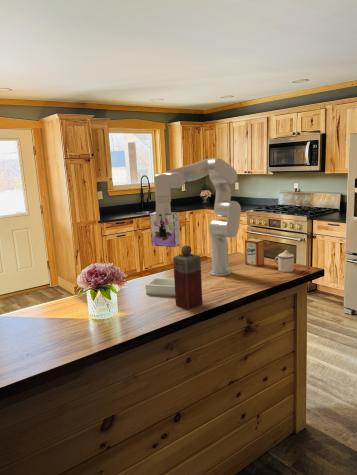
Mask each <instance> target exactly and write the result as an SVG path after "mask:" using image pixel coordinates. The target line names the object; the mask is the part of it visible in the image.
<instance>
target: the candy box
mask: <svg viewBox="0 0 357 475" xmlns="http://www.w3.org/2000/svg"><path fill="white" fill-rule="evenodd" d="M179 214H180V212H176V211H175V212H173V211H171V212H169V213H167V214H166V223H165V229H166V237H160V235H159V226H158V223H156V211H154V212H150V213H149V224H150V239H151V240H150V241H151V246H154V247H155V246H157V247H168V248H169V247H170V248H176V247H178V246H181V234H180V232H181V231H180V230H181V229H180V215H179ZM161 222H164V221H161ZM162 225H163V224H162Z"/></svg>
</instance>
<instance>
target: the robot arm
mask: <svg viewBox="0 0 357 475" xmlns="http://www.w3.org/2000/svg"><path fill="white" fill-rule="evenodd" d="M206 176H209V180H210V181H211V183H212V185H213V187H214V188H215V198H214V205H213V206H214V207H213V209H214V210H213V213H214V216H216V217H219V219H218V218H215V219H213V220H211V221H210V223H209V224H208V230H209V235H210V236H209V237H210V243H211V249H210V250H211V270H209V275H212V276H215V277H224V276H229V275H231V274H232V270H231V269H230V268H229V267H230V266H229V243H228V240H227V238H232V239H233V238H235V237H236V236H237V235H238V232H239V228H240V222H241V214H242V208H241V204H240V203H239V202H238V201H235V200H231V198H232V190H231V188H230V186H229V185H233V184H235V183H236V182H237V180H238V172H237V170H236V169H235V168H234V167H233V166H231V165H230V164H229V163H228V162H227V161H225V160H224V159H223V158H218V157H215V158H214V157H213V158H211V157H210V158H205V159H202V160H199V161H197V162H194V163H191V164H188V165H184V166H181V167H176V168H173V169H171V170H167V171H165V172H163V173H158V174H155V175H154V177H153V179H154V180H153V181H154V198H155V212H156V223H158V226H159V235H160V237H166V229H165V223H166V214H167V213H169V212H172V209H171V207H172V206H171V202H172V197H171V189H179V188H182V187H183V186H184V185H185V183H186V182H194V181H197V180H199V179H202V178H203V177H206ZM220 218H225V219H220ZM161 221H164V222H161ZM162 224H163V225H162Z"/></svg>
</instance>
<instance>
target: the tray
mask: <svg viewBox="0 0 357 475" xmlns="http://www.w3.org/2000/svg"><path fill="white" fill-rule="evenodd" d="M145 295H152V296H153V295H154V296H165V297H175V282H174V278H165V277H154V278H152V279H151V280H150V281H149V282H147V283H146V284H145Z"/></svg>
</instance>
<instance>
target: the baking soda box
mask: <svg viewBox="0 0 357 475" xmlns="http://www.w3.org/2000/svg"><path fill="white" fill-rule="evenodd" d="M244 255H245V256H244V257H245V259H244V260H245V262H244V264H246V265H247V266H250V265H251V267H256V268H259V267H262V266H265V240H264V239H259V238H253V237H252V238H248V239H245V240H244Z"/></svg>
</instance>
